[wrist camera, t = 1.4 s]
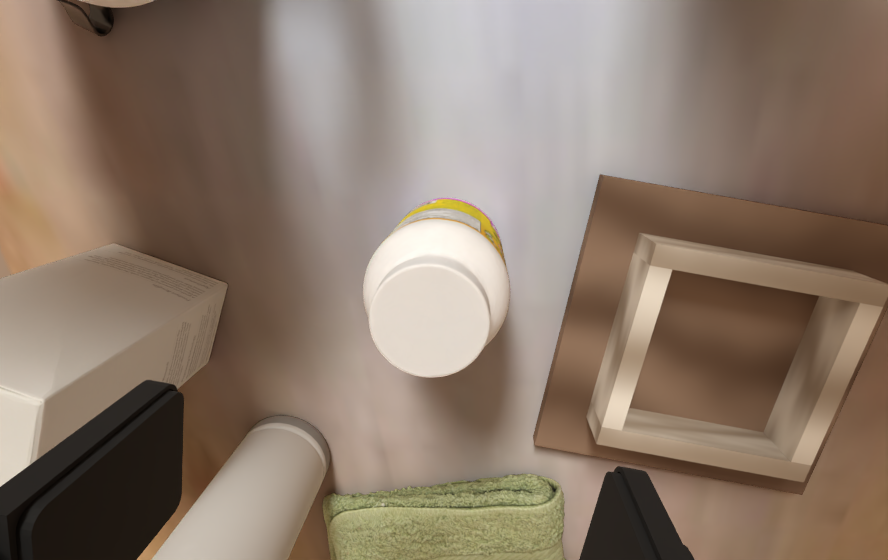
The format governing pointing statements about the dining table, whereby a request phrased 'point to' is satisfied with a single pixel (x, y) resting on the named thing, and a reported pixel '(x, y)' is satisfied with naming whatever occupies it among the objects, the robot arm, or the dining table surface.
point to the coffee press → (98, 13)
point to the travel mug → (255, 497)
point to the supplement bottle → (437, 288)
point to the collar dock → (712, 333)
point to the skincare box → (94, 341)
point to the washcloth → (450, 521)
